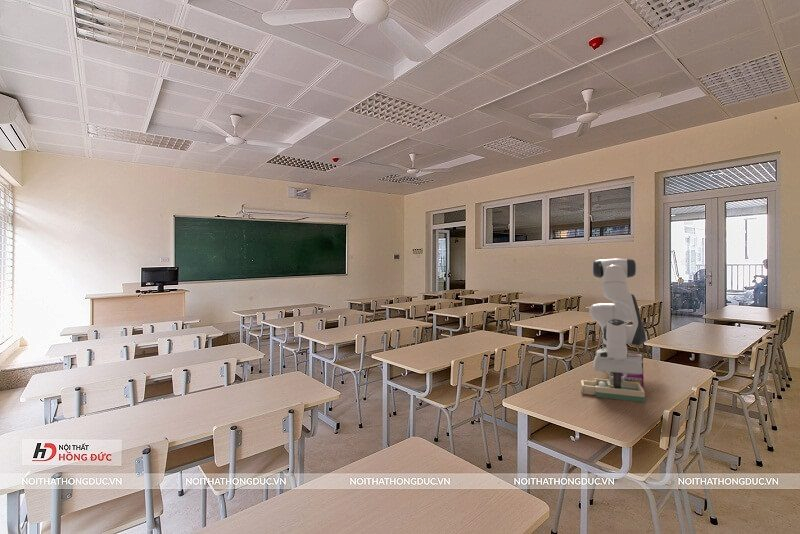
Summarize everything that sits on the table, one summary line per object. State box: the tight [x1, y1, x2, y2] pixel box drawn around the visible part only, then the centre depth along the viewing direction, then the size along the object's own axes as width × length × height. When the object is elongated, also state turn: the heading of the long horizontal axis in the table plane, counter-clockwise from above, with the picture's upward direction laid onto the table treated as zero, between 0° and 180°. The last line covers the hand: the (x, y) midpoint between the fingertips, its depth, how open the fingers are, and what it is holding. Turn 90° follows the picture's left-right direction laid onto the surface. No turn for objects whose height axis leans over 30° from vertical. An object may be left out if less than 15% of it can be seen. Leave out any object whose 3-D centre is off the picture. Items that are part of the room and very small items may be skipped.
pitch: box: [580, 377, 646, 403], centre depth 180 cm, size 14×26×5 cm, turn 66°
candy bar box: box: [621, 352, 645, 388], centre depth 192 cm, size 11×5×16 cm, turn 62°
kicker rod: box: [607, 372, 621, 389], centre depth 180 cm, size 5×6×8 cm
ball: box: [598, 381, 606, 387], centre depth 182 cm, size 3×3×3 cm
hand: (617, 381), depth 179 cm, fingers closed on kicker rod, 3 cm apart
